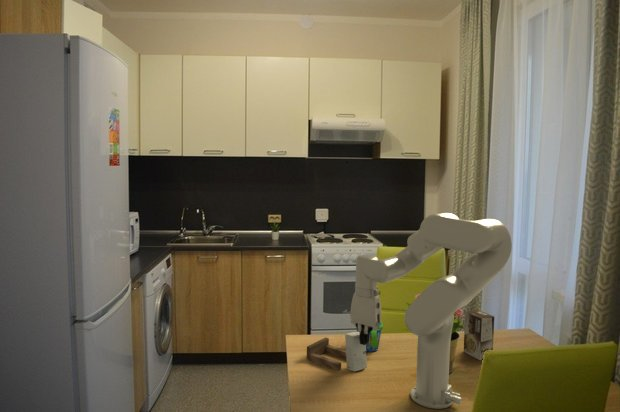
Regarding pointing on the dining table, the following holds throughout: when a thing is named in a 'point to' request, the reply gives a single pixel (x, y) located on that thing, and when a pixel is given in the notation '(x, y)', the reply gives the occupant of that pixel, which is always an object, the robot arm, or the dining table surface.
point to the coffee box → (478, 333)
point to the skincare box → (355, 352)
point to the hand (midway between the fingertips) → (364, 343)
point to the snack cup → (374, 339)
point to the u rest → (323, 347)
